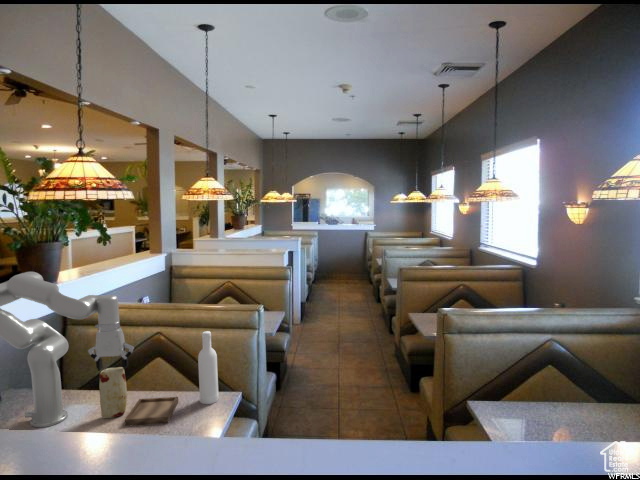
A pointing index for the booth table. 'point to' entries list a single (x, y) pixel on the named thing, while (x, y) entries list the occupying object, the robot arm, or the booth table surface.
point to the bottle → (208, 371)
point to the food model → (112, 392)
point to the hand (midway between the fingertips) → (112, 368)
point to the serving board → (152, 411)
